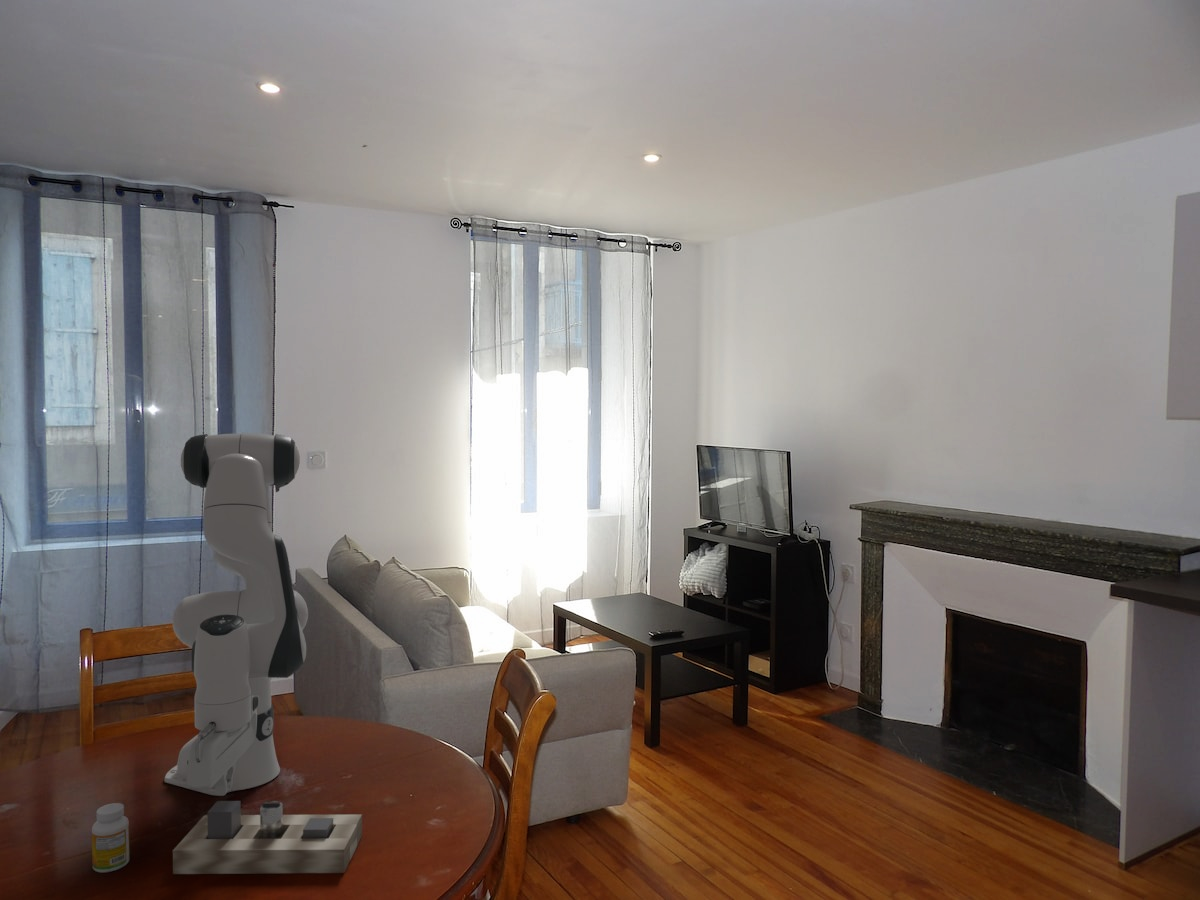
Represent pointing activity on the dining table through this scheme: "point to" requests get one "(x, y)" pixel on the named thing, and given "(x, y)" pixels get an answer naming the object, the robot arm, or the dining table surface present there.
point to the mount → (269, 848)
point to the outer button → (318, 828)
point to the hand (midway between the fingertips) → (224, 791)
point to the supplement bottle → (110, 839)
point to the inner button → (224, 820)
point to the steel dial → (271, 820)
